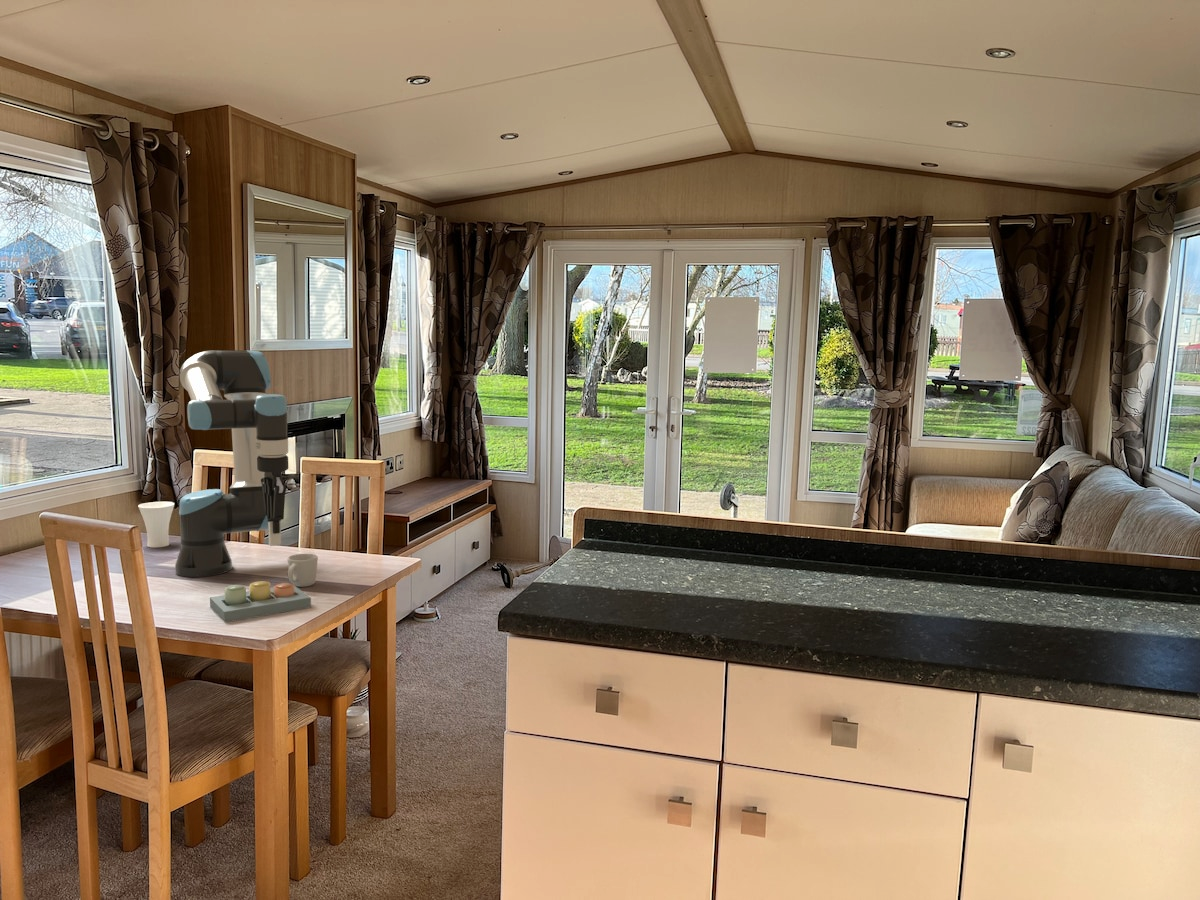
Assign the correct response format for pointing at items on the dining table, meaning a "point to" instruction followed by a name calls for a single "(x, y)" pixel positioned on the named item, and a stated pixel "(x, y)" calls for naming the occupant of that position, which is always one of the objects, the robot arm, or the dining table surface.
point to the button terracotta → (283, 590)
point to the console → (259, 606)
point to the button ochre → (260, 591)
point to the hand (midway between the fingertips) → (274, 544)
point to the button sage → (235, 595)
